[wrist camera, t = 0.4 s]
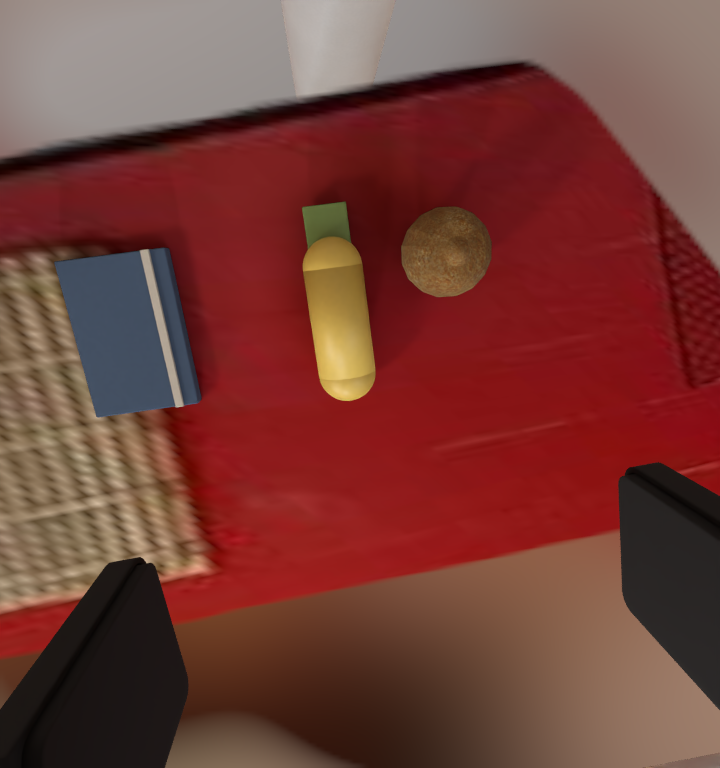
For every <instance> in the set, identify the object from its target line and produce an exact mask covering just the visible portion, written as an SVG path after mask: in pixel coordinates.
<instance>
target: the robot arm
mask: <svg viewBox="0 0 720 768" xmlns="http://www.w3.org/2000/svg"><path fill="white" fill-rule="evenodd" d="M618 486H619V514H620V540H621V569H622V592H623V596H624V600H625V603H626V605H627V607H628V608H629V610H630V611H631V613H632V614H633V615H634V616H635V617H636V618H637V619H638V620H639V621H640V623H641V624H642V625H643V626H644V627H645V628H646V629H647V630H648V631H649V633H650V634H651V635H652V636H653V637H654V638H655V639H656V640H657V641H658V642H659V644H660V645H661V646H662V647H663V648H664V649H665V650H666V651H667V652H668V654H669V655H670V656H671V657H672V658H673V659H674V660H675V661H676V662H677V663H678V665H679V666H680V667H681V668H682V669H683V670H684V671H685V672H686V673H687V674H688V676H689V677H690V678H691V679H692V680H693V681H694V682H695V683H696V684H697V686H698V687H699V688H700V689H701V690H702V691H703V692H704V693H705V694H706V695H707V697H708V698H709V699H710V700H711V701H712V702H713V703H714V704H715V706H716V707H717V708H718V709H719V710H720V496H718V495H717V494H715V493H713V492H711V491H710V490H708V489H706V488H704V487H703V486H701V485H699V484H697V483H695V482H694V481H692V480H690V479H688V478H687V477H685V476H683V475H681V474H680V473H678V472H676V471H674V470H673V469H671V468H669V467H667V466H666V465H664V464H661V463H659V462H658V463H652V464H646V465H641V466H635V467H630V468H628V469H627V470H626V473H625V476H622V477H621V478H620V479H619V485H618ZM187 695H188V676H187V672H186V669H185V666H184V663H183V659H182V655H181V652H180V649H179V645H178V642H177V639H176V635H175V632H174V628H173V625H172V621H171V618H170V615H169V611H168V608H167V604H166V601H165V598H164V594H163V591H162V587H161V584H160V581H159V577H158V574H157V570H156V568H155V566H154V565H153V564H152V563H147V564H146V562H145V561H144V559H143V558H141V557H138V558H133V559H127V560H122V561H116V562H111V563H109V564H108V565H106V567H105V568H104V569H103V571H102V572H101V573H100V575H99V576H98V577H97V579H96V580H95V582H94V583H93V584H92V586H91V587H90V588H89V590H88V591H87V592H86V594H85V595H84V596H83V598H82V599H81V601H80V602H79V603H78V605H77V606H76V607H75V609H74V610H73V611H72V613H71V614H70V615H69V617H68V618H67V620H66V621H65V622H64V624H63V625H62V626H61V628H60V629H59V630H58V632H57V633H56V634H55V636H54V637H53V639H52V640H51V641H50V643H49V644H48V645H47V647H46V648H45V649H44V651H43V652H42V653H41V655H40V656H39V658H38V659H37V660H36V662H35V663H34V664H33V666H32V667H31V668H30V670H29V671H28V673H27V674H26V675H25V677H24V678H23V679H22V681H21V682H20V684H19V685H18V686H17V687H16V689H15V690H14V691H13V693H12V694H11V696H10V697H9V698H8V700H7V701H6V702H5V704H4V705H3V707H2V708H1V709H0V768H165V765H166V762H167V759H168V755H169V752H170V749H171V746H172V743H173V740H174V736H175V734H176V730H177V727H178V724H179V721H180V718H181V715H182V712H183V709H184V705H185V702H186V699H187ZM645 768H720V753H716V754H711V755H706V756H701V757H696V758H691V759H686V760H681V761H675V762H670V763H666V764H660V765H656V766H651V767H645Z"/></svg>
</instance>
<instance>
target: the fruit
mask: <svg viewBox="0 0 720 768" xmlns="http://www.w3.org/2000/svg"><path fill="white" fill-rule="evenodd" d="M491 245H492V242H491V239H490V236H489V234H488V231H487V229H486V226H485V225H484V224H483V223H482V222H481V221H480V220H479V219H478V218H477V217H476V216H475V215H474V214H473V213H472V212H469V211H467V210H464V209H461V208H459V207H438V208H434V209H432V210H430V211H428V212H426V213H424V214H422V215H420V216H419V218H418V219H417V220H416V221H415V222H414V223H413V224H412V225H411V227H410V228H409V229H408V230H407V232H406V235H405V238H404V241H403V244H402V246H401V253H402V265H403V268H404V270H405V272H406V274H407V277H408V279H409V280H410V281H411V282H412V283H413V284H414V285H415V286H417V287H418V288H419V289H420V290H421V291H422V292H425V293H428V294H430V295H433V296H436V297H447V296H457V295H459V294H462V293H464V292H466V291H468V290H470V289H472V288H473V287H474V286H475V285H476V284H477V283H478V281H479V280H480V279H481V278H482V277H483V276H484V275H485V273H486V271H487V268H488V266H489V263H490V261H491Z"/></svg>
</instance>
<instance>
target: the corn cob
mask: <svg viewBox="0 0 720 768" xmlns="http://www.w3.org/2000/svg"><path fill="white" fill-rule="evenodd" d="M302 211H303V217H304V224H305V231H306V238H307V244H308V251H307V252H306V254H305V257H304V260H303V274H304V280H305V287H306V294H307V300H308V307H309V313H310V320H311V326H312V333H313V339H314V346H315V352H316V359H317V365H318V372H319V378H320V382H321V384H322V386H323V388H324V389H325V390H326V392H327V393H328V394H330V395H331V396H332V397H334V398H336V399H339V400H343V401H351V400H355V399H358V398H360V397H362V396H364V395H365V394H366V393H367V392H368V391H369V390H370V388H371V387H372V385H373V383H374V380H375V362H374V354H373V346H372V338H371V330H370V322H369V314H368V306H367V298H366V290H365V282H364V273H363V265H362V260H361V257H360V254H359V252H358V251H357V249H356V248H355V247H354V246H353V245H352V244H351V239H350V231H349V223H348V215H347V207H346V202H338V203H330V204H322V205H314V206H307V207H302Z"/></svg>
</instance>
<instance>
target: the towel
mask: <svg viewBox="0 0 720 768" xmlns="http://www.w3.org/2000/svg"><path fill="white" fill-rule="evenodd" d="M55 267H56V270H57V274H58V278H59V281H60V285H61V289H62V292H63V296H64V300H65V303H66V307H67V311H68V314H69V318H70V321H71V325H72V329H73V332H74V336H75V340H76V343H77V347H78V351H79V354H80V358H81V362H82V365H83V369H84V373H85V376H86V380H87V384H88V387H89V391H90V395H91V398H92V402H93V406H94V409H95V413H96V417H104V416H111V415H118V414H125V413H132V412H139V411H146V410H153V409H160V408H167V407H174V406H176V407H182V406H184V405H188V404H195V403H198V402H199V401H200V400H201V399H202V398H201V394H200V389H199V384H198V380H197V375H196V370H195V366H194V361H193V357H192V352H191V347H190V343H189V338H188V333H187V329H186V324H185V320H184V315H183V310H182V306H181V301H180V296H179V292H178V287H177V283H176V278H175V273H174V269H173V264H172V259H171V255H170V250H169V248H156V249H146V250H140V251H133V252H125V253H118V254H110V255H102V256H94V257H87V258H79V259H71V260H63V261H56V262H55Z"/></svg>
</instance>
